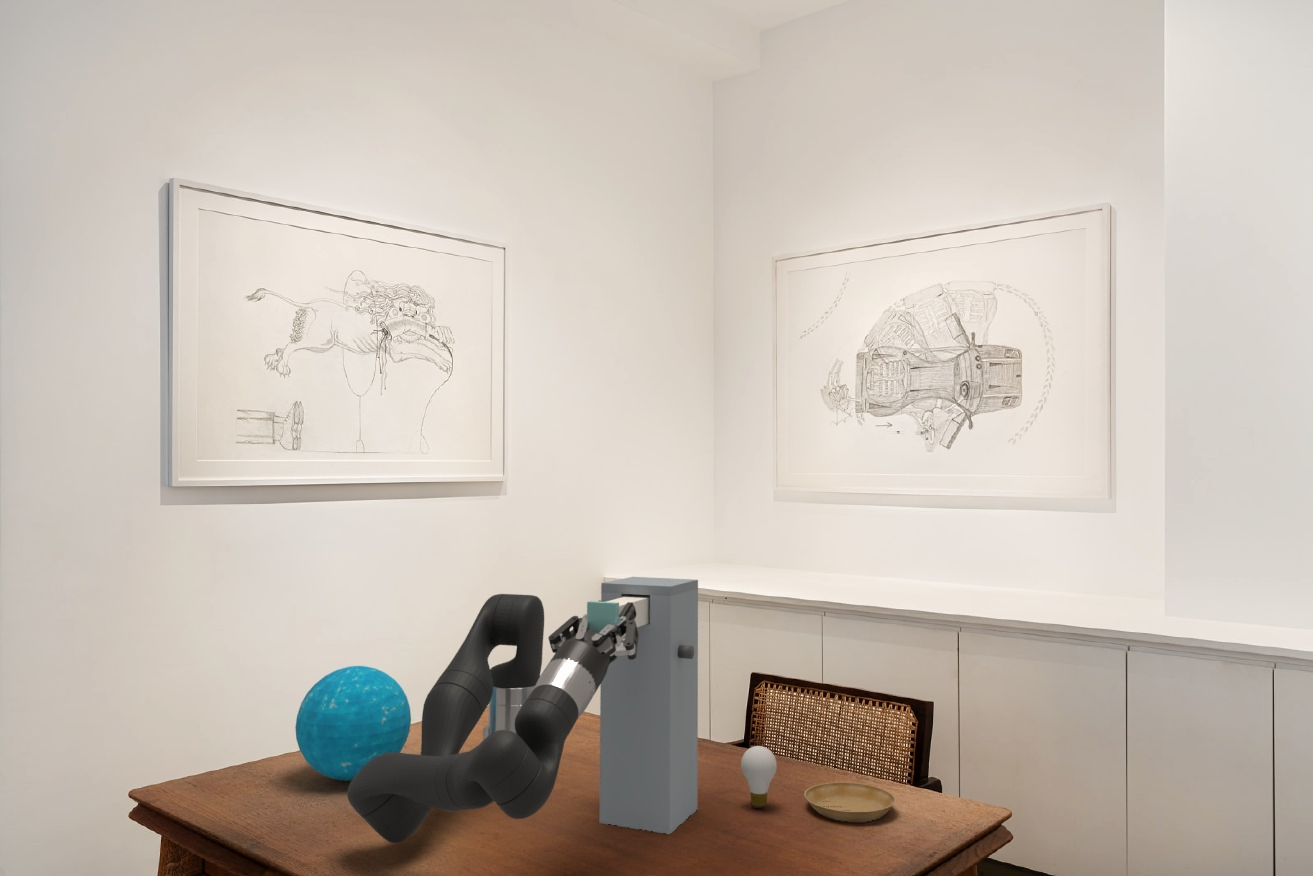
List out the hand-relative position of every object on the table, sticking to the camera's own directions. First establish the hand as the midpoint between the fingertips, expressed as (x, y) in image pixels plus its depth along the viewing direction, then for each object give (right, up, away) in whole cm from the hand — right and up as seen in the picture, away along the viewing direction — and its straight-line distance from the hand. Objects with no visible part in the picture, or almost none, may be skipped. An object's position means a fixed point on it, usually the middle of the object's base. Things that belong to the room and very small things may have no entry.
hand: (617, 606), depth 139 cm
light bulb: (+23, -36, +14) cm, 45 cm away
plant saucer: (+38, -36, +13) cm, 54 cm away
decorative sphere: (-49, -37, +28) cm, 68 cm away
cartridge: (+1, -4, +3) cm, 5 cm away
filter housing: (+5, -36, +10) cm, 37 cm away
